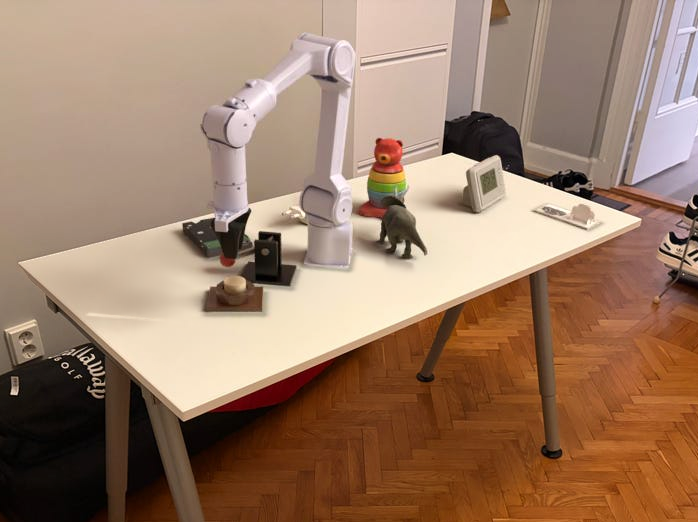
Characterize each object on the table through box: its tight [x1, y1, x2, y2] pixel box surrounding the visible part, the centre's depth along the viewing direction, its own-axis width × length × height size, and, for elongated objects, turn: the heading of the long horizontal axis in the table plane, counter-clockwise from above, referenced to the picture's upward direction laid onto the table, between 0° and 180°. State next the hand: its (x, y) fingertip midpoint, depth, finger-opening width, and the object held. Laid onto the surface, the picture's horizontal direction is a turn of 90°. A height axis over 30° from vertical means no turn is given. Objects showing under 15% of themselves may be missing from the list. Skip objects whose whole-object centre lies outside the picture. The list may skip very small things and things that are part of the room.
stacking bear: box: [357, 137, 407, 219], centre depth 171 cm, size 11×10×18 cm
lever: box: [218, 236, 275, 268], centre depth 142 cm, size 12×3×3 cm, turn 85°
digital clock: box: [461, 154, 507, 213], centre depth 182 cm, size 16×9×11 cm, turn 134°
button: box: [223, 275, 246, 293], centre depth 133 cm, size 4×4×2 cm
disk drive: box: [181, 217, 253, 259], centre depth 156 cm, size 10×3×15 cm
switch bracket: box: [240, 230, 297, 287], centre depth 142 cm, size 10×8×9 cm
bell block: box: [206, 280, 264, 313], centre depth 134 cm, size 10×8×4 cm
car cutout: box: [533, 202, 602, 231], centre depth 179 cm, size 15×7×4 cm, turn 47°
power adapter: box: [281, 203, 308, 225], centre depth 166 cm, size 11×5×6 cm, turn 137°
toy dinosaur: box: [375, 184, 428, 259], centre depth 156 cm, size 22×8×11 cm, turn 12°
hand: (233, 253), depth 129 cm, fingers open, 3 cm apart
